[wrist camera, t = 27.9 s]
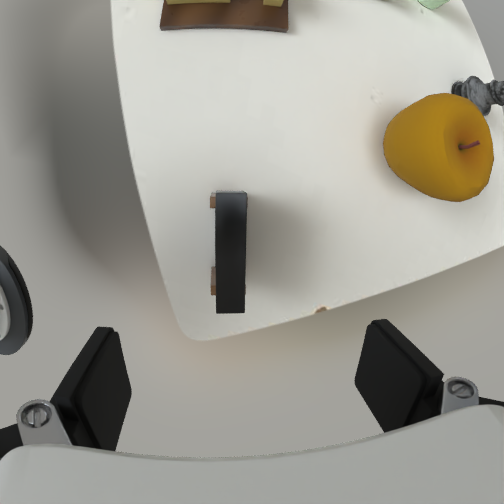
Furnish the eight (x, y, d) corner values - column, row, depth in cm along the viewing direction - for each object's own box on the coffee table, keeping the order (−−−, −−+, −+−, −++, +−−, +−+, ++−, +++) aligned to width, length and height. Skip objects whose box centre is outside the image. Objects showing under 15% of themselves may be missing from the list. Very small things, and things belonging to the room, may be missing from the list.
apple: (438, 187, 33) (511, 200, 21) (373, 199, 32) (447, 216, 20) (426, 106, 30) (498, 93, 18) (358, 106, 29) (427, 81, 17)
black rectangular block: (216, 280, 32) (216, 313, 25) (216, 187, 30) (215, 192, 22) (238, 280, 33) (244, 313, 25) (239, 187, 30) (247, 192, 22)
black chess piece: (446, 77, 29) (506, 61, 17) (470, 83, 29) (527, 72, 18) (454, 115, 30) (517, 108, 19) (477, 119, 31) (536, 116, 19)
